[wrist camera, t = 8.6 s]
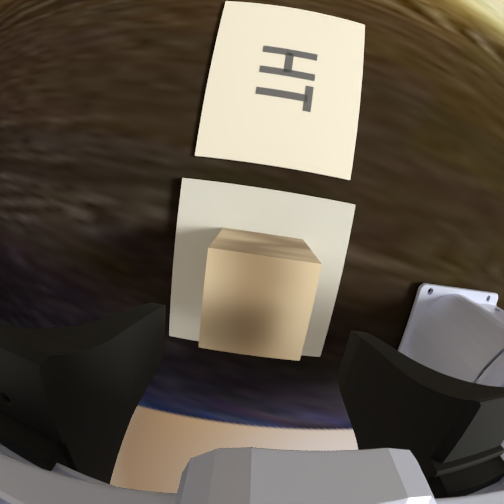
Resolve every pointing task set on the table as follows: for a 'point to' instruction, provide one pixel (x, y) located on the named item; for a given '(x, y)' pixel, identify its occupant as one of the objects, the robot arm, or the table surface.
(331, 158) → the cream card
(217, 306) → the maple block
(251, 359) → the table surface
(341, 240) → the grey mat
